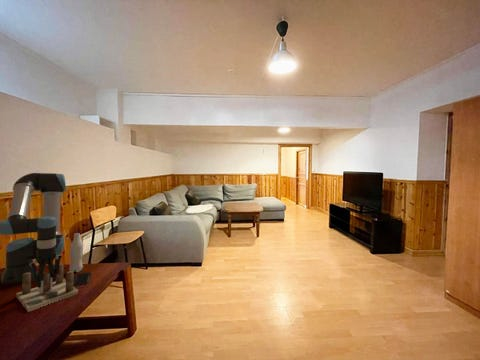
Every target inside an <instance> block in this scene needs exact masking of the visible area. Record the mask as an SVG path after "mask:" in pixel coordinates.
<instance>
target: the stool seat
mask: <svg viewBox="0 0 480 360" xmlns="http://www.w3.org/2000/svg"><path fill="white" fill-rule="evenodd" d="M74 272H75V271H70V270H69V271H67V272H65V278H64V264H63V263H60V266H59V273H58V274H56V276H55V281H54V282H53V283H52V290H50V291H57V292H58V295H57V296H55V297H52V298H49V297H48V295H45V294H41V293H39V292H38V290H39V288H38V287H37V286H36V287H33V288H31V287H32V286H31V285H32V279H31V273H24V274H23V275H22V282H21V288H22V289H21V291H19V292H16V299H17V300H18V301H19V302H20V303H21V305H22V306H23V307H24V308H25V310H26V312H27V313H29V312H32V311H35V310H38V309H40V307H41V308H43V306H44V307H46V306H49V305H52V304H55V303H57V302H60V301H63V300H65V298H66V299H68V298H71V297H74V296H76V295H78V294H79V289H77V288H76V286H73V283H74ZM62 299H63V300H62ZM59 300H60V301H59ZM54 302H55V303H54ZM51 303H52V304H51ZM48 304H49V305H48Z"/></svg>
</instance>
